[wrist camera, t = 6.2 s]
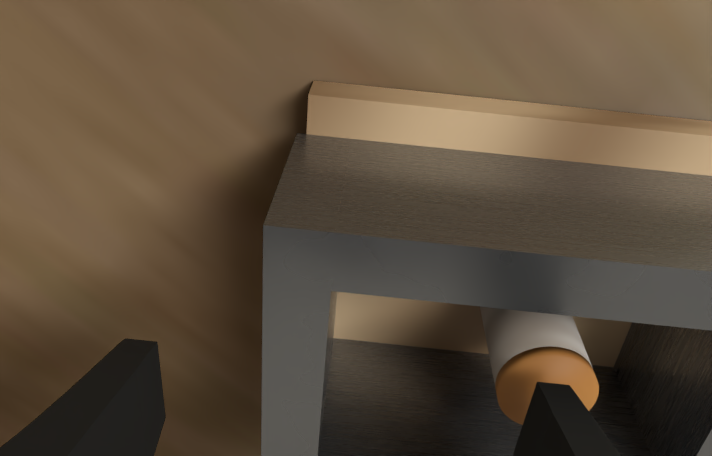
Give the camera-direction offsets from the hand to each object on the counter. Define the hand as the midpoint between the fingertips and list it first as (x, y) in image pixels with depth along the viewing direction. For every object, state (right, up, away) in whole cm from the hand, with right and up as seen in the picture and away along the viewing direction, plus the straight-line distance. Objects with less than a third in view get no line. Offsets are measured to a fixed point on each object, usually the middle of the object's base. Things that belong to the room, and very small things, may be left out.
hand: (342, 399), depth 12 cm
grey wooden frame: (+4, +2, +4) cm, 5 cm away
